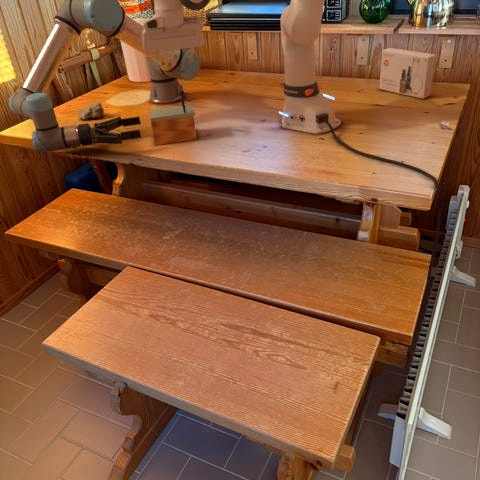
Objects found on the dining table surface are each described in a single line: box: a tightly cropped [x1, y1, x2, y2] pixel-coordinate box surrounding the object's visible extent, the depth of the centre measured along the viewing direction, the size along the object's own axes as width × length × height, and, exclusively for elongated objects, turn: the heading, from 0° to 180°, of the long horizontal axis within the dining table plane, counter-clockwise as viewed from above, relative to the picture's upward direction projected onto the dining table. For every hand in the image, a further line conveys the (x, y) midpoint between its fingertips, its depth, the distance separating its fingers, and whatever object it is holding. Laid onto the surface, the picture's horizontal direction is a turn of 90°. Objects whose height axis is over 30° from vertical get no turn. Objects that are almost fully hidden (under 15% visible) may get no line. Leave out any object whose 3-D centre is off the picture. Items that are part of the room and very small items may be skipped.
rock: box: [78, 101, 105, 121], centre depth 195 cm, size 11×6×10 cm
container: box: [119, 17, 151, 83], centre depth 235 cm, size 21×21×28 cm
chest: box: [150, 116, 198, 146], centre depth 167 cm, size 15×9×9 cm, turn 101°
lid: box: [149, 84, 196, 123], centre depth 162 cm, size 16×9×9 cm, turn 101°
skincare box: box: [378, 47, 437, 100], centre depth 184 cm, size 21×6×16 cm, turn 40°
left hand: (140, 126), depth 165 cm, fingers open, 13 cm apart
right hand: (176, 63), depth 156 cm, fingers open, 8 cm apart
